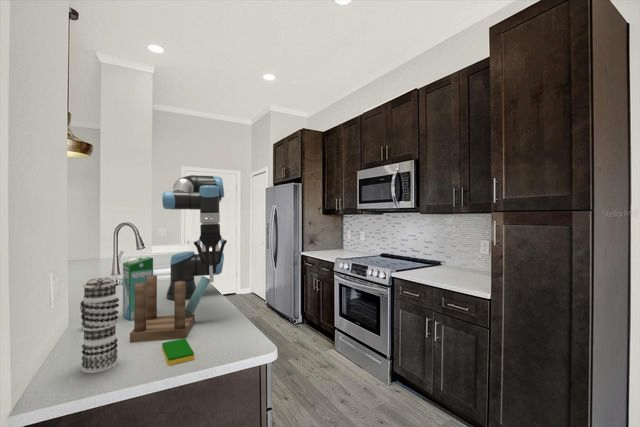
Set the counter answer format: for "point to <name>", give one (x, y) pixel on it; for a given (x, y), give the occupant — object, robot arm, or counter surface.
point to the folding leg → (197, 294)
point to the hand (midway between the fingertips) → (211, 281)
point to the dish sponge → (177, 351)
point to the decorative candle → (99, 325)
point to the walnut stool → (159, 326)
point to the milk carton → (134, 281)
